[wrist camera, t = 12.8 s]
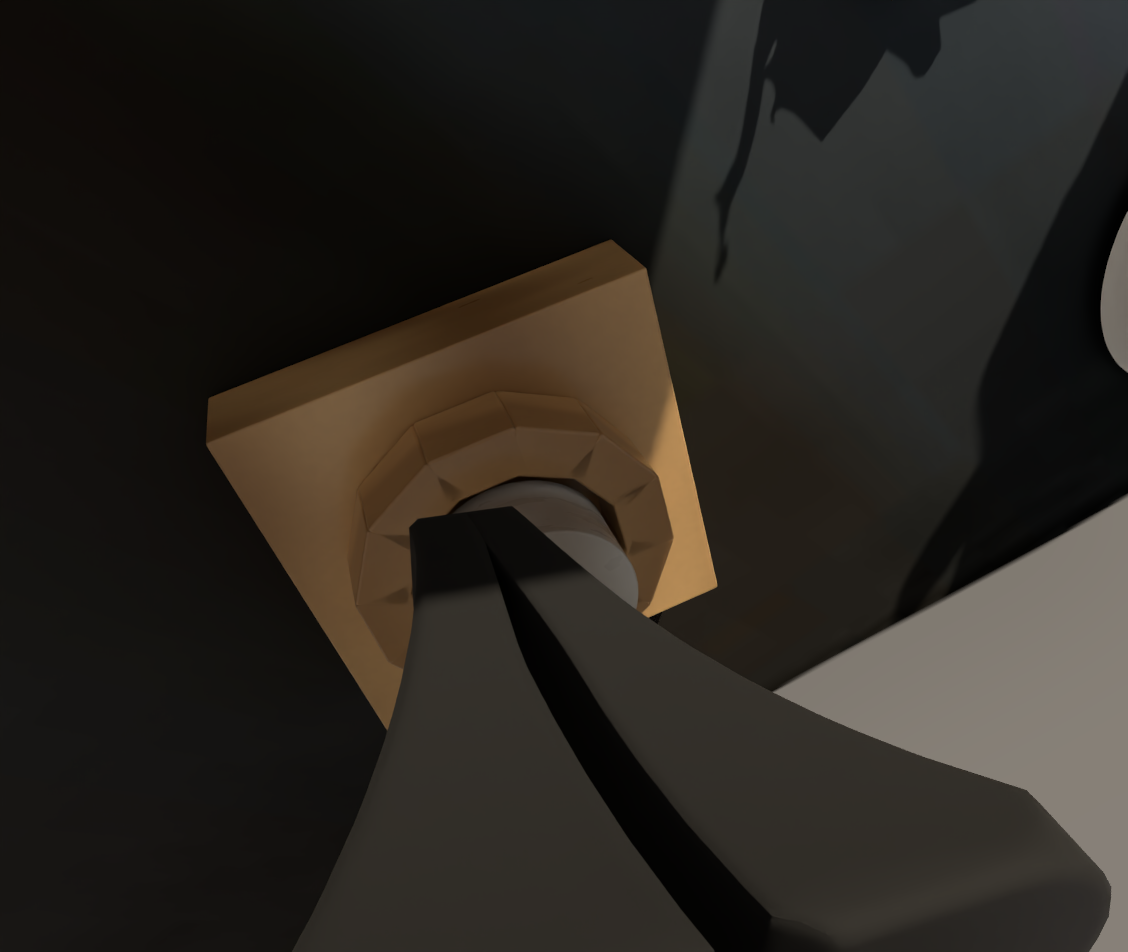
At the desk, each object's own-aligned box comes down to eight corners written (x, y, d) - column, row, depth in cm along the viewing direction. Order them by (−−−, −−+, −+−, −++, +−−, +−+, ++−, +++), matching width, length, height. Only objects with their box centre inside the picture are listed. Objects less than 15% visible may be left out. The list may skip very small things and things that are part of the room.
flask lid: (460, 660, 21) (480, 722, 20) (393, 528, 19) (408, 586, 17) (624, 588, 22) (656, 643, 20) (581, 449, 19) (613, 498, 17)
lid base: (378, 678, 25) (398, 786, 22) (207, 397, 20) (201, 490, 16) (686, 543, 26) (748, 628, 23) (611, 238, 21) (680, 296, 17)
